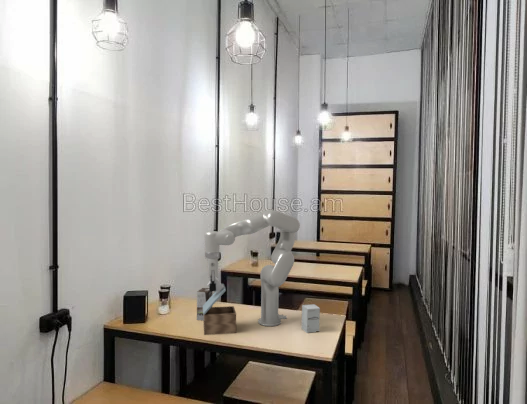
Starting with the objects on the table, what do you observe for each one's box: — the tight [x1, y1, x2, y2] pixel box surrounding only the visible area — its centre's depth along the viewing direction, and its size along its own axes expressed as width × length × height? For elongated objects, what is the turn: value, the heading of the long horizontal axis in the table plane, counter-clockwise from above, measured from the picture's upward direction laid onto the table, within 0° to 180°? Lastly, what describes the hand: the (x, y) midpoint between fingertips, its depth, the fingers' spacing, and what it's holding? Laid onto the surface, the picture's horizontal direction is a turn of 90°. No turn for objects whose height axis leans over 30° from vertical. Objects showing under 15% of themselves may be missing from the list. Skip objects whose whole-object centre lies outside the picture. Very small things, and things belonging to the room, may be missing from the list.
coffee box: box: [196, 287, 214, 322], centre depth 208 cm, size 9×6×16 cm
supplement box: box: [301, 303, 321, 334], centre depth 192 cm, size 7×7×13 cm
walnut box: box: [203, 305, 237, 336], centre depth 191 cm, size 16×12×10 cm
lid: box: [203, 278, 227, 315], centre depth 190 cm, size 16×12×8 cm
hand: (212, 290), depth 190 cm, fingers closed
